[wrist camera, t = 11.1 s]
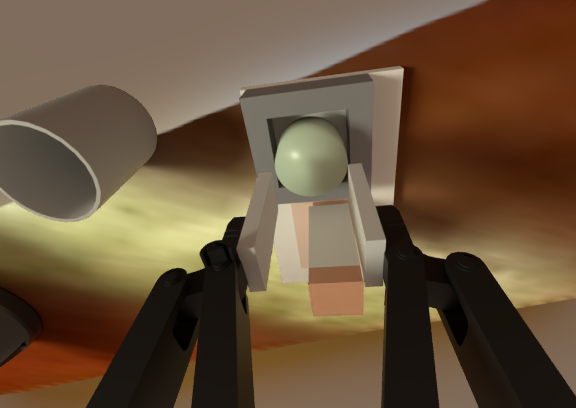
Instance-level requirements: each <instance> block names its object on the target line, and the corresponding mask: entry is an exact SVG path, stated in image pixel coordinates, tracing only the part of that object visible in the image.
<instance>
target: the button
mask: <svg viewBox="0 0 576 408" xmlns="http://www.w3.org/2000/svg"><path fill="white" fill-rule="evenodd" d="M347 168H348V159H347V155H346V150H345V146H344V142H343V138H342V135H341V133H340V131H339V130H338V128H337V127H336V126H335V125H334V124H333V123H331V122H330V121H328V120H326V119H324V118H321V117H317V116H307V117H302V118H299V119H297V120H295V121H293V122H292V123H290V124H289V125H288V126H287V127H286V128H285V130H284V131H283V133H282V135H281V137H280V140H279V144H278V149H277V153H276V158H275V170H276V174H277V177H278V179H279V180H280V182H281V183H282V184H283V185H284V186H285V187H286V188H287V189H288V190H290V191H291V192H293V193H295V194H298V195H302V196H309V197H313V196H320V195H324V194H326V193H328V192H330V191H332V190H334V189H335V188H336V187H337V186H338V185H339V184H340V183H341V182H342V180H343V179H344V177H345V175H346V172H347Z"/></svg>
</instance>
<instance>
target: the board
mask: <svg viewBox="0 0 576 408" xmlns="http://www.w3.org/2000/svg"><path fill="white" fill-rule="evenodd" d="M403 71H404V68H402V67H401V66H396V67H389V68H381V69H374V70H367V71H359V72H352V73H344V74H337V75H330V76H322V77H315V78H308V79H300V80H293V81H286V82H279V83H271V84H264V85H256V86H249V87H242V88H241V89H240V95H241V97H240V98H239V100H240V104H241V109H242V113H243V117H244V122H245V126H246V131H247V135H248V139H249V144H250V148H251V153H252V157H253V161H254V166H255V170H256V175H257V178H258V174H259V173H264V172H271V173H272V178H273V183H274V188H275V194H276V199H277V204H278V215H277V222H276V228H275V235H274V241H273V243H274V247H275V252H276V256H277V261H278V265H279V270H280V274H281V279H282V283H305V282H308V275H309V206H313V202H317V201H329V200H341V199H343V202H344V204H346V203H348V205H349V183H348V168H347V172H346V175H345V177H344V179H343V180H342V182H341V183H340V184H339V185H338V186H337V187H336V188H335V189H334V190H332V191H330V192H328V193H326V194H324V195H320V196H313V197H309V196H302V195H298V194H295V193H293V192H291V191H290V190H288V189H287V188H286V187H285V186H284V185H283V184H282V183H281V182H280V180H279V179H278V177H277V174H276V170H275V158H276V153H277V149H278V144H279V140H280V137H281V135H282V133H283V131H284V130H285V128H286V127H287V126H288V125H289V124H290V123H292V122H293V121H295V120H297V119H299V118H302V117H307V116H317V117H321V118H324V119H326V120H328V121H330V122H331V123H333V124H334V125H335V126H336V127H337V128H338V130H339V131H340V133H341V135H342V138H343V142H344V146H345V150H346V155H347V159H348V164H358V163H362V167H363V170H364V173H365V176H366V179H367V182H368V185H369V188H370V191H371V195H372V198H373V201H374V204H375V206H383V205H393V201H394V188H395V175H396V162H397V149H398V136H399V123H400V110H401V97H402V84H403ZM349 210H350V206H349ZM350 215H351V211H350ZM351 220H352V216H351ZM352 226H353V221H352ZM353 231H354V226H353ZM354 236H355V231H354ZM355 241H356V236H355ZM356 246H357V241H356ZM357 252H358V246H357ZM358 257H359V252H358ZM359 262H360V257H359ZM360 267H361V262H360ZM361 273H362V278H363V280H364V277H363V272H362V267H361Z"/></svg>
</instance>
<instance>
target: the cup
mask: <svg viewBox="0 0 576 408" xmlns="http://www.w3.org/2000/svg"><path fill="white" fill-rule="evenodd" d="M156 145H157V132H156V128H155V125H154V123H153V120H152V118H151V116H150V115H149V113H148V112H147V110H146V109H145V108H144V107H143V106H142V105H141V104H140V103H139V101H137V100H136V99H135V98H134V97H132V96H131V95H129V94H128V93H126V92H125V91H122V90H120V89H117V88H115V87H112V86H105V85H95V86H89V87H85V88H82V89H79V90H77V91H74V92H71V93H69V94H66V95H64V96H61V97H58V98H56V99H53V100H50V101H48V102H45V103H43V104H40V105H37V106H34V107H32V108H29V109H26V110H24V111H21V112H19V113H16V114H14V115H11V116H8V117H6V118H3V119H0V191H1V192H2V193H3V194H5V195H6V196H7V197H8V198H9V199H10V200H12V201H13V202H15V203H16V204H18V205H19V206H21V207H22V208H24V209H26V210H28V211H30V212H32V213H34V214H36V215H38V216H41V217H44V218H47V219H50V220H55V221H62V222H75V221H81V220H83V219H86V218H89V217H90V216H91V215H92V214H93V213H95V212H96V211H97V210H98V209H99V208H100V207H101V206H102V205H103V204H104V203H105V202H106V201H107V200H108V199H109V198H110V197H111V196H112V195H113V194H114V193H115V192H116V191H117V190H118V189H119V188H120V187H121V186H122V185H123V184H124V183H125V182H126V181H128V180H129V179H130V178H131V177H132V176H133V175H134V174H135V173H136V172H137V171H138V170H139V169H140V168H141V167H142V166H143V165H144V164H145V163H146V162H147V161H148V160H149V159H150V158H151V156H152V155H153V153H154V151H155V149H156Z"/></svg>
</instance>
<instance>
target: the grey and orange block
mask: <svg viewBox="0 0 576 408" xmlns="http://www.w3.org/2000/svg"><path fill="white" fill-rule="evenodd" d="M308 284H309V291H310V298H311V304H312V311H313V316H339V315H363V278H362V273H361V267H360V262H359V257H358V252H357V246H356V241H355V236H354V231H353V226H352V220H351V215H350V210H349V205H348V203H346V204H344V202H343V199H341V200H329V201H317V202H313V206H309V275H308Z"/></svg>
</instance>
